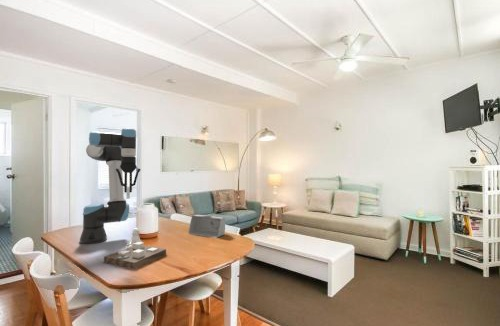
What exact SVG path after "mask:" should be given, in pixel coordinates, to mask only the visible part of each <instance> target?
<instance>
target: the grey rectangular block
mask: <svg viewBox="0 0 500 326" xmlns="http://www.w3.org/2000/svg"><path fill="white" fill-rule="evenodd" d="M188 234H189V235H196V236H201V237H207V238H213V239H214V238H215V239H218V238H220V237H222V236H224V235H225V234H226V218H225V217H223V216H214V215H205V214H195V215H191V218H190V223H189V227H188Z"/></svg>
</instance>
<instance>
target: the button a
mask: <svg viewBox="0 0 500 326" xmlns="http://www.w3.org/2000/svg"><path fill="white" fill-rule="evenodd" d="M123 250H124V251H122V250H120V251H121V252H119V251H117V252H118V255H122V256H123V255H127V254H129V253H130V251H125V249H123Z"/></svg>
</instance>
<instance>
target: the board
mask: <svg viewBox="0 0 500 326" xmlns="http://www.w3.org/2000/svg"><path fill="white" fill-rule="evenodd" d="M150 248H158V251H155V252H153V253H152V252H147V249H150ZM124 250H125V251H130V253H129V254H127V255H123V256H122V255H118V252H121V251H124ZM140 250H144V256H143V257H141V258H139V259H138V258H133V257H132V251H135V249H133V247H130V248H127V247H126V248H124V249H121V250H120V251H117V252H114V253H110V254H108V255H105V256H104V257H103V261H104V262H103V263H104V264H110V265H114V266H119V267H123V268H127V269H133V270H134V269H137V268H139V267H142V266H144V265H146V264H148V263H151V262H153V261H155V260H158V259H159V258H162V257H163V256H164V257H165V256H166V255H167V249H166V248H161V247H157V246H156V247H155V246H149V245H144V248H143V249H140Z"/></svg>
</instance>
